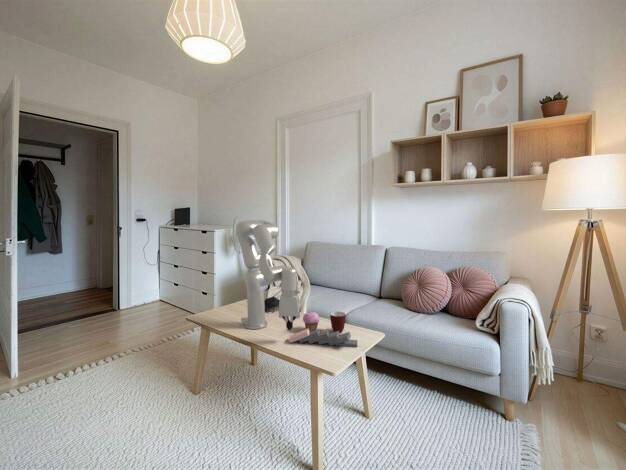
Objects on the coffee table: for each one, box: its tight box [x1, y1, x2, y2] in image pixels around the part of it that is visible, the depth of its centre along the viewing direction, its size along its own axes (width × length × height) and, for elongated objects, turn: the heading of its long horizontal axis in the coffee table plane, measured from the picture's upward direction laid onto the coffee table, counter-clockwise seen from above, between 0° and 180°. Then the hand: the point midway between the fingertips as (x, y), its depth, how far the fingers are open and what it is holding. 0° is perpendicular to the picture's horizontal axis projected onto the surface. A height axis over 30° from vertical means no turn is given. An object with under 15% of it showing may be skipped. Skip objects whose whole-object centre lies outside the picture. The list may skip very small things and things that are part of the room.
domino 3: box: [317, 331, 341, 346], centre depth 149 cm, size 2×5×10 cm
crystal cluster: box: [264, 296, 280, 313], centre depth 202 cm, size 13×14×10 cm
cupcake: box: [302, 311, 320, 332], centre depth 166 cm, size 9×9×10 cm
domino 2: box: [307, 329, 330, 345], centre depth 150 cm, size 2×5×10 cm
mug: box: [329, 311, 347, 334], centre depth 164 cm, size 11×8×10 cm
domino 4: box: [328, 331, 352, 346], centre depth 147 cm, size 2×5×10 cm
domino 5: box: [335, 339, 358, 348], centre depth 148 cm, size 2×5×10 cm
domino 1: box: [298, 328, 321, 344], centre depth 151 cm, size 2×5×10 cm
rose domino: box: [288, 328, 310, 344], centre depth 152 cm, size 2×5×10 cm
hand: (289, 329), depth 152 cm, fingers closed
